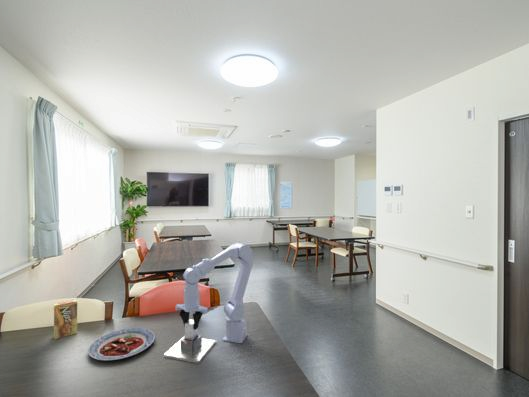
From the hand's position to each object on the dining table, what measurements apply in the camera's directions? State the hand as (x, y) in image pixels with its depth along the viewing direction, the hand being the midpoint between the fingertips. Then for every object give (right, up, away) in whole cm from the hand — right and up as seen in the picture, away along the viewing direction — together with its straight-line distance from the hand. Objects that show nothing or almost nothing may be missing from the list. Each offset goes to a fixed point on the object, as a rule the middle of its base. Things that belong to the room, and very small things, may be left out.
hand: (191, 327), depth 116 cm
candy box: (-63, -9, +12) cm, 65 cm away
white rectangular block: (0, -6, 0) cm, 6 cm away
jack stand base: (0, -9, 0) cm, 9 cm away
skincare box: (-8, -10, +31) cm, 34 cm away
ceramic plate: (-31, -10, +2) cm, 32 cm away
